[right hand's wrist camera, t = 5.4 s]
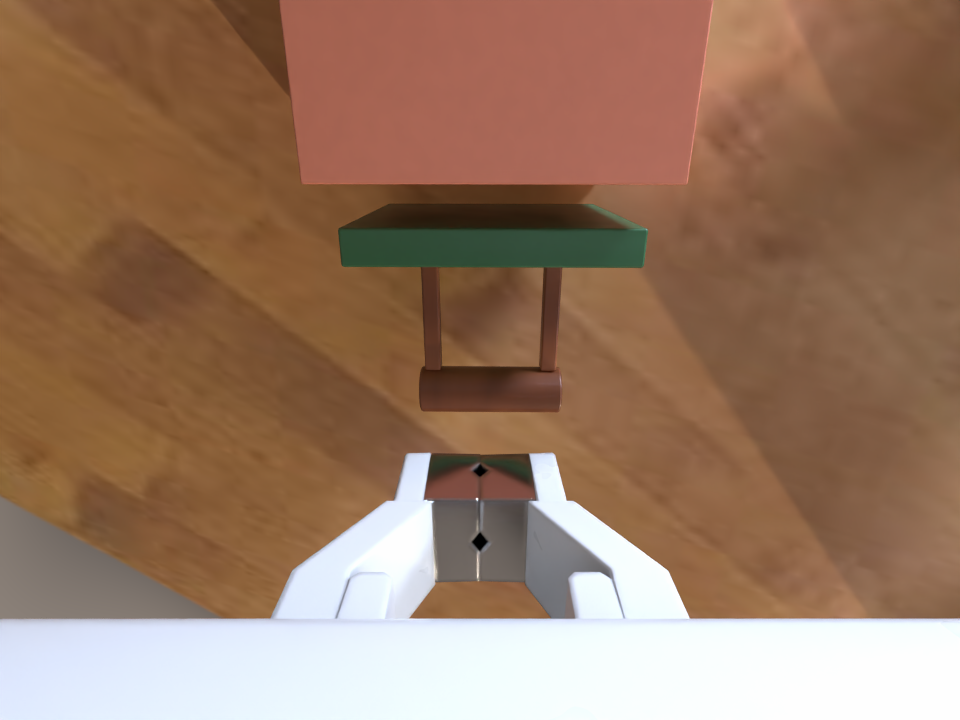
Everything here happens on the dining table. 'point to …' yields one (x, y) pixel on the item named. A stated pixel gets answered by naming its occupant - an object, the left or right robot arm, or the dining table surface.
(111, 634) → the right robot arm
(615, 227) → the drawer
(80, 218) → the dining table surface
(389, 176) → the cabinet
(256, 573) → the dining table surface
